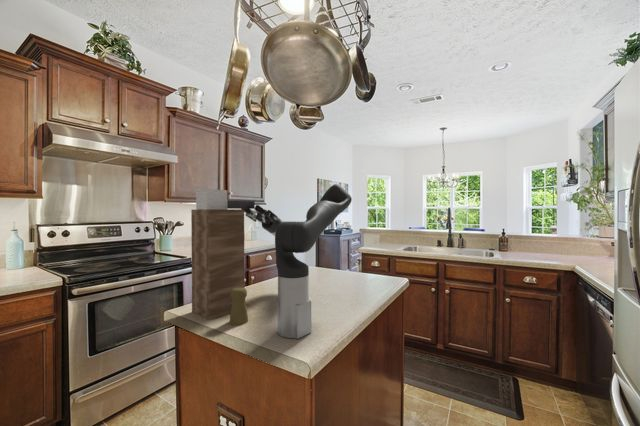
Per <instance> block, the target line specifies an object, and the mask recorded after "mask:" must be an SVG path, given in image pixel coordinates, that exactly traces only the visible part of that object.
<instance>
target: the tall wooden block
mask: <svg viewBox="0 0 640 426" xmlns="http://www.w3.org/2000/svg"><path fill="white" fill-rule="evenodd" d="M190 220H191V312H192V313H194V314H196V315H199V316H201V317H204V318H206V319H208V320H214V319H216V318H219V317H222V316H223V317H224V316H226V315H229V314H231V307H232V300H233V299H232V298H231V291H232V290H233V289H234V288H245V212H244V210H241V209H203V210H196V209H191V219H190Z"/></svg>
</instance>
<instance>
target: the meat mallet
mask: <svg viewBox="0 0 640 426" xmlns="http://www.w3.org/2000/svg"><path fill="white" fill-rule="evenodd" d="M195 195H196V196H195V199H196V200H195V201H196V203H195V204H196V205H195V206H196V207H195V210H203V209H234V210H241V209H251V210H253V209H254V210H255V206H256V205H255V201H254V200H232V199H231V200H230V199H229V200H228V190H226V189H215V188H214V189H213V188H204V189H203V188H202V189H196V190H195Z"/></svg>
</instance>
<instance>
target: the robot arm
mask: <svg viewBox="0 0 640 426" xmlns="http://www.w3.org/2000/svg"><path fill="white" fill-rule="evenodd" d="M352 200H353V199H352V196H351V195H350V193H348V192H347V191H346V190H345V189H344V188H343V187H342V186H340V184H338V183H334V184H332V185H331V186H330V187H329V188H328V189H327V190H326V191H325V193H324V194H323V195H322V197H320V200H319V201H317V202H315V203H314V204H313V205H312V206H310V207H309V209H308V210H307V212H306V216H305V218H306V220H305V221H283V220H282V219H281V218H280V217H278V216H277V215H276V214H275V213H274V212H273V211H272V210H270V209H265V208H263V207H262V206H261V205H259V204H256V205H255V209H254V210H253V209H240V210H244V214H245V216H246V217H247V218H248V219H250V220H252V221H253V222H258V223H261V227H262V229H264V230H265V231H267V232H268V233H269V234H271V235H272V236H274V249H275V264H276V268H277V269H276V270H277V334H278V335H279V336H280V337H282V338H287V339H297V340H299V339H301V338H303V337H305V336H307V335H308V334H311V333H312V300H310V299H309V298H310V296H309V295H310V294H309V292H310V291H309V289H310V287H309V285H310V281H309V280H310V278H309V277H310V276H309V274H310V273H309V271H310V270H309V265H307V263H305V262H303V261H301V260H300V259H298V258H297V257H296V256H295V255H294V253H295V254H301V253H302V254H304V253H308V252H309V251H310V250H311V249H312V248H313V247H314V245H315V244H316V242H317V241H318V239H319V238H320V236H321V235H322V234H323V233H324V231H325V230H326V229H327V228H328V227H329V226H330V225H331V224H332V223H333V222H334V221H335V220H336V218H337V217H338V216H339V215H341V214H342V213H343V212H344V211H345V210H346V209H348V208H349V206H350V205H351V203H352Z"/></svg>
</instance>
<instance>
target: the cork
mask: <svg viewBox="0 0 640 426" xmlns="http://www.w3.org/2000/svg"><path fill="white" fill-rule="evenodd" d="M247 296H248V290H247V288H245V287H244V288H234V289H233V290H232V291H231V298H232V299H233V300H232V307H231V313H230V316H229V324H230V325H233V326H241V325H245V324H247V323H248V322H249V315H248V309H247V308H248V307H247V301H246V297H247Z"/></svg>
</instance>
